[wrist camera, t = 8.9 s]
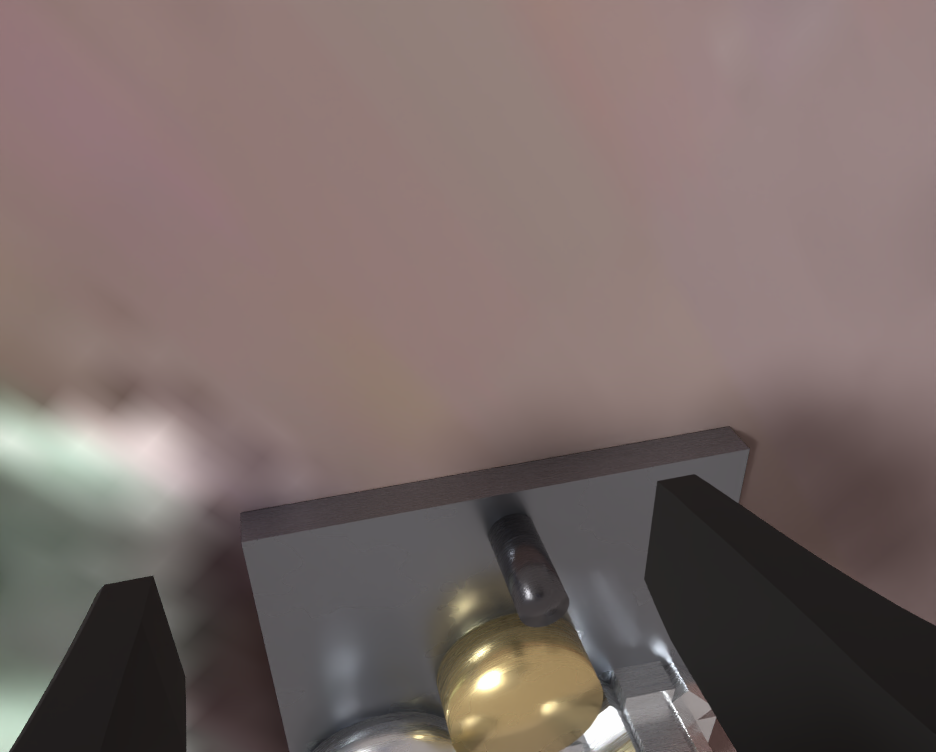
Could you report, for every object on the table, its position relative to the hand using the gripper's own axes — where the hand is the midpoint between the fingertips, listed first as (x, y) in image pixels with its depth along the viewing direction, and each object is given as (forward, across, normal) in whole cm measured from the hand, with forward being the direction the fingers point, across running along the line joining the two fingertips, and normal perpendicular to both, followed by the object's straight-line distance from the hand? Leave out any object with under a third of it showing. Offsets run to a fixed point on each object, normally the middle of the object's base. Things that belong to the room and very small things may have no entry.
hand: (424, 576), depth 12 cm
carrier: (+10, -4, +14) cm, 18 cm away
